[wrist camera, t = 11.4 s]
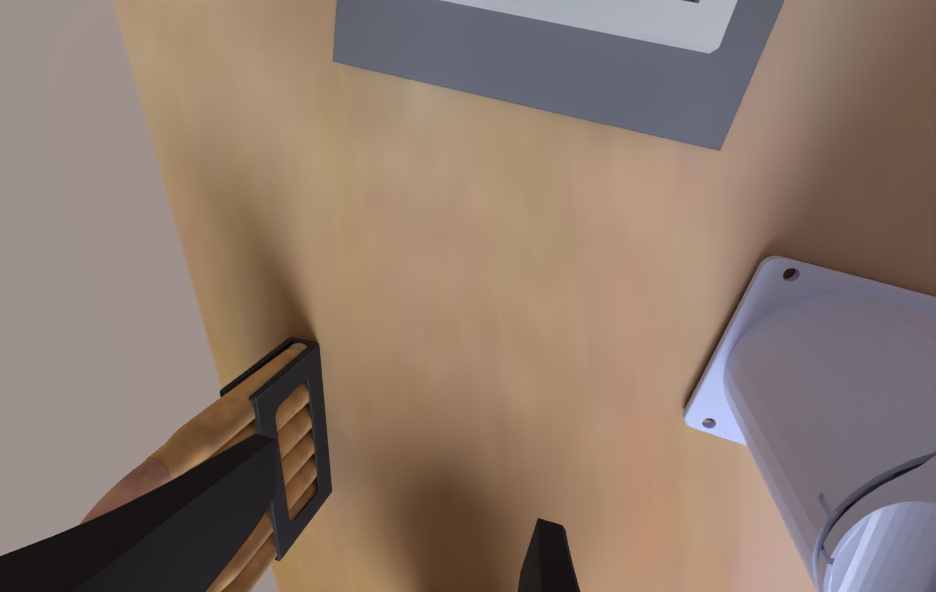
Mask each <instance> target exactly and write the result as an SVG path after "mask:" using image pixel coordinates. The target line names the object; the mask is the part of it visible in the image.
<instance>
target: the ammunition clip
mask: <svg viewBox="0 0 936 592" xmlns="http://www.w3.org/2000/svg"><path fill="white" fill-rule="evenodd" d="M220 396H221V398H220V399H218V400H217V401H216V402H214V403H213V404H212V405H210V406H209V407H208V408H206V409H205V410H204V411H203V412H201V413H199V414H198V415H197V416H195V417H194V418H193V419H191V420H190V421H189V422H187V423H186V424H185V425H183V426H182V427H181V428H180V429H178V431H176V433H174V434H173V436H172V437H171V438H170V439H169V440H168V441H167V442H166V443H165V444H164V445H163V446H162V447H160V448H159V449H158V450H157V451H156V452H154V453H153V454H152V455H151V456H149V457H148V458H147V459H146V461H144V462H143V463H142V464H141V465H139V466H138V467H137V468H135V469H134V470H133V471H132V472H130V473H129V474H128V475H126V476H125V477H124V478H123V479H122V480H121V481H120V482H118V483H117V484H116V485H115V486H114V487H113V488H112V489H111V490H110V491H109V492H108V493H107V494H106V495H105V496H104V497H103V498H102V499H101V500H100V501H99V502H98V503H97V504H96V505H95V506H94V507H93V508H92V510H91V511H90V512H89V513H88V514H87V515H86V517H85V518H84V519H83V521H82V522H81V523H80V524H83V523H85V522H87V521H90V520H92V519H94V518H96V517H99V516H101V515H103V514H105V513H107V512H110V511H112V510H114V509H116V508H118V507H120V506H122V505H124V504H126V503H128V502H130V501H132V500H134V499H136V498H138V497H140V496H142V495H144V494H146V493H148V492H150V491H152V490H154V489H156V488H158V487H160V486H162V485H164V484H165V483H167V482H169V481H171V480H173V479H175V478H176V477H178V476H180V475H182V474H184V473H186V472H187V471H189V470H191V469H193V468H195V467H196V466H198V465H200V464H202V463H204V462H205V461H207V460H209V459H211V458H212V457H214V456H216V455H218V454H219V453H221V452H223V451H225V450H226V449H228V448H230V447H232V446H234V445H235V444H237V443H239V442H241V441H242V440H244V439H246V438H248V437H250V436H251V435H253V434H255V433H257V434H260V435H264V436H267V437H270V438H274V439H276V496H275V497H274V499H273V501H272V502H271V504H270V506H269V507H268V509H267V511H266V512H265V514H264V516H263V517H262V519H261V520H260V522H259V523H258V525H257V526H256V528H255V529H254V531H253V532H252V534H251V535H250V536H249V538H248V539H247V540H246V542H245V543H244V544H243V545H242V547H241V548H240V549H239V550H238V552H237V553H236V554H235V556H234V557H233V558H232V559H231V561H230V562H229V563H228V564H227V566H226V567H225V568H224V570H223V571H222V572H221V573H220V575H219V576H218V577H217V578H216V580H215V581H214V582H213V583H212V585H211V586H210V587H209V588H208V590H207V591H206V592H250V591H251V590H252V589H253V587H254V586H255V584H256V583H257V582H258V581H259V579H260V578H261V577H262V575H263V574H264V572H265V571H266V570H267V568H268V567H269V566H270V564H271V563H272V562H273V560H274V559H275V560H277V561H280V560H281V559H282V558H283V557H284V555H285V554H286V553H287V551H288V550H289V549H290V547H291V546H292V544H293V543H294V542H295V540H296V539H297V538H298V536H299V535H300V534H301V532H302V531H303V530H304V528H305V527H306V526H307V524H308V523H309V522H310V520H311V519H312V518H313V516H314V515H315V514H316V512H317V511H318V510H319V508H320V507H321V506H322V504H323V503H324V502H325V500H326V499H327V498H328V496H329V495H330V494H331V492H332V485H331V473H330V462H329V450H328V439H327V427H326V416H325V404H324V393H323V381H322V370H321V358H320V347H319V345H318V344H317V343H315V342H310V341H304V340H299V339H294V338H288V339H287V340H285V341H284V342H283V343H282V344H280V345H279V346H278V347H276V348H275V349H274V350H273V351H271V352H270V353H269V354H267V355H266V356H265V357H263V358H262V359H261V360H260V361H258V362H257V363H256V364H254V365H253V366H252V367H251V368H249V369H248V370H247V371H245V372H244V373H243V374H241V375H240V376H239V377H237V378H236V379H235V380H233V381H232V382H231V383H229V384H228V385H227V386H225V387H224V388H223V389H221V390H220ZM276 556H277V557H276Z"/></svg>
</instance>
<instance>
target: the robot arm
mask: <svg viewBox="0 0 936 592" xmlns="http://www.w3.org/2000/svg"><path fill="white" fill-rule="evenodd" d="M790 268H795V274H794V275H793V276H792V277H790V278H783V273H784V272H785V271H786V270H787V269H790ZM683 416H684V420H685V423H686V424H687V425H688V426H690V427H692V428H695V429H698V430H701V431H704V432H707V433H710V434H713V435H716V436H719V437H722V438H725V439H728V440H731V441H734V442H737V443H740V444H743V445H746V446H748V448H749V450H750V452H751V454H752V456H753V458H754V460H755V463H756V465H757V467H758V469H759V471H760V473H761V475H762V477H763V479H764V481H765V483H766V485H767V488H768V490H769V492H770V494H771V496H772V498H773V500H774V502H775V504H776V506H777V508H778V511H779V513H780V515H781V517H782V519H783V521H784V523H785V525H786V527H787V529H788V531H789V533H790V536H791V538H792V540H793V542H794V544H795V546H796V548H797V550H798V552H799V554H800V556H801V559H802V561H803V563H804V565H805V567H806V569H807V571H808V573H809V575H810V577H811V579H812V582H813V584H814V586H815V588H816V590H817V592H936V297H935V296H931V295H927V294H923V293H920V292H916V291H912V290H908V289H904V288H901V287H897V286H893V285H889V284H885V283H881V282H878V281H874V280H870V279H866V278H862V277H858V276H855V275H851V274H847V273H843V272H839V271H836V270H832V269H828V268H824V267H820V266H816V265H813V264H809V263H805V262H801V261H797V260H794V259H790V258H786V257H782V256H770V257H767V258H766V259H764V260H763V261H762V262H761V263H760V264H759V266H758V268H757V270H756V272H755V274H754V276H753V278H752V280H751V282H750V284H749V286H748V288H747V289H746V291H745V293H744V295H743V297H742V299H741V301H740V303H739V305H738V307H737V309H736V311H735V313H734V315H733V317H732V319H731V321H730V322H729V324H728V326H727V328H726V330H725V332H724V334H723V336H722V338H721V340H720V342H719V344H718V346H717V348H716V350H715V352H714V353H713V355H712V357H711V359H710V361H709V363H708V365H707V367H706V369H705V371H704V373H703V375H702V377H701V379H700V381H699V383H698V384H697V386H696V388H695V390H694V392H693V394H692V396H691V398H690V400H689V402H688V404H687V406H686V408H685V410H684V412H683ZM707 418H712V419H713V421H712V422H709V423H704V422H703V420H704V419H707ZM275 496H276V439H274V438H270V437H267V436H264V435H260V434H257V433H255V434H253V435H251V436H250V437H248V438H246V439H244V440H242V441H241V442H239V443H237V444H235V445H234V446H232V447H230V448H228V449H226V450H225V451H223V452H221V453H219V454H218V455H216V456H214V457H212V458H211V459H209V460H207V461H205V462H204V463H202V464H200V465H198V466H196V467H195V468H193V469H191V470H189V471H187V472H186V473H184V474H182V475H180V476H178V477H176V478H175V479H173V480H171V481H169V482H167V483H165V484H164V485H162V486H160V487H158V488H156V489H154V490H152V491H150V492H148V493H146V494H144V495H142V496H140V497H138V498H136V499H134V500H132V501H130V502H128V503H126V504H124V505H122V506H120V507H118V508H116V509H114V510H112V511H110V512H107V513H105V514H103V515H101V516H99V517H96V518H94V519H92V520H90V521H87V522H85V523H83V524H80V525H78V526H76V527H74V528H71V529H69V530H67V531H64V532H62V533H59V534H57V535H55V536H52V537H50V538H47V539H45V540H42V541H39V542H36V543H34V544H31V545H28V546H26V547H23V548H21V549H18V550H15V551H13V552H10V553H8V554H5V555H2V556H0V592H206V591H207V590H208V588H209V587H210V586H211V585H212V583H213V582H214V581H215V580H216V578H217V577H218V576H219V575H220V573H221V572H222V571H223V570H224V568H225V567H226V566H227V564H228V563H229V562H230V561H231V559H232V558H233V557H234V556H235V554H236V553H237V552H238V550H239V549H240V548H241V547H242V545H243V544H244V543H245V542H246V540H247V539H248V538H249V536H250V535H251V534H252V532H253V531H254V529H255V528H256V526H257V525H258V523H259V522H260V520H261V519H262V517H263V516H264V514H265V512H266V511H267V509H268V507H269V506H270V504H271V502H272V501H273V499H274V497H275ZM518 592H580V589H579V586H578V582H577V578H576V575H575V571H574V567H573V563H572V559H571V555H570V551H569V546H568V541H567V536H566V530H565V529H564V527H563V526H562V525H560V524H556V523H553V522H550V521H546V520H543V519H540V518H538V520H537V523H536V526H535V529H534V532H533V535H532V538H531V542H530V545H529V548H528V551H527V554H526V557H525V560H524V563H523V566H522V569H521V573H520V580H519V587H518Z"/></svg>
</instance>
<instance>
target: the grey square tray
mask: <svg viewBox="0 0 936 592" xmlns="http://www.w3.org/2000/svg"><path fill="white" fill-rule="evenodd" d="M783 2H784V0H337V11H336V24H335V38H334V51H333V61H334V62H338V63H342V64H346V65H351V66H355V67H359V68H364V69H368V70H372V71H377V72H381V73H385V74H390V75H394V76H398V77H403V78H407V79H411V80H416V81H420V82H424V83H429V84H433V85H437V86H442V87H446V88H450V89H455V90H459V91H463V92H468V93H472V94H476V95H481V96H485V97H489V98H494V99H498V100H502V101H507V102H511V103H515V104H520V105H524V106H528V107H533V108H537V109H541V110H546V111H550V112H554V113H559V114H563V115H567V116H572V117H576V118H580V119H585V120H589V121H593V122H598V123H602V124H606V125H611V126H615V127H619V128H624V129H628V130H632V131H637V132H641V133H645V134H650V135H654V136H658V137H663V138H667V139H671V140H676V141H680V142H684V143H689V144H693V145H697V146H702V147H706V148H710V149H715V150H719V151H720V150H721V147H722V145H723V143H724V140H725V138H726V136H727V133H728V131H729V129H730V126H731V124H732V122H733V119H734V117H735V115H736V112H737V110H738V107H739V105H740V103H741V100H742V98H743V96H744V93H745V91H746V89H747V86H748V84H749V82H750V79H751V77H752V75H753V72H754V70H755V68H756V65H757V63H758V61H759V58H760V56H761V54H762V51H763V49H764V47H765V44H766V42H767V40H768V37H769V35H770V33H771V30H772V28H773V26H774V23H775V21H776V19H777V16H778V14H779V12H780V9H781V7H782V5H783Z"/></svg>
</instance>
